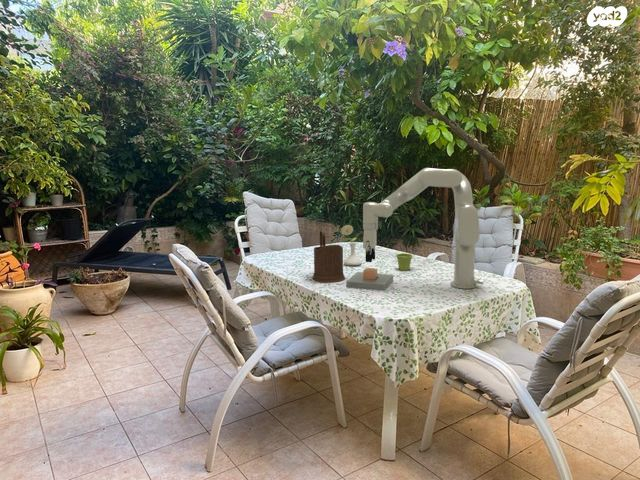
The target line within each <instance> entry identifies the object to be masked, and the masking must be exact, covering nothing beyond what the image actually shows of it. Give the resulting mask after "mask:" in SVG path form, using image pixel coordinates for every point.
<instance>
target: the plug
mask: <svg viewBox="0 0 640 480" xmlns="http://www.w3.org/2000/svg"><path fill="white" fill-rule="evenodd" d="M362 272H363V279H369V280H375V279H376V278H377V274H378V268H373V267H372V268H371V267H366V268H364V269H363V270H362Z"/></svg>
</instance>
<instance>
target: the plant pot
mask: <svg viewBox="0 0 640 480" xmlns="http://www.w3.org/2000/svg"><path fill="white" fill-rule="evenodd" d="M412 257H413V254H411V253H397V254H396V259H397V264H398V270H399V271H403V272H404V271H409V270H410V268H411V267H410V266H411V262H412Z"/></svg>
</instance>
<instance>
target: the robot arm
mask: <svg viewBox="0 0 640 480" xmlns="http://www.w3.org/2000/svg"><path fill="white" fill-rule="evenodd" d="M428 187H437V188H451V189H452V192H453V198H454V215H455V218H456V219H457V228H456V229H455V232H454V245H455V246H454V271H453V273H454V274H453V280H452V281H450V286H451V287H454V288H456V289H465V290H467V289H469V290H471V289H475V288H477V284H478V285H483V284H484V280H483V279H480V278H479V279H477V278H475V277H476V276H475V258H476V257H475V256H476V245H477V243H478V242H479V240H480V220H479V219H480V218H479V212H478V209H477V208H476V206H474V200H473V199H474V198H473V192H472V187H471V183H470V181H469V180H468V178H467V176H466V175H465V174H463V173H462V172H460V170H458V169H455V168H447V169H445V168H434V167H433V168H432V167H424V168H422V169H421V170H420V171H418V172H417V173H416V174H414V175H413V176H412V177H411V178H410V179H408V180H407V181H406V182H404V183H403V184H402V185H401V186H399V187H398V188H397V189H396V190H394V191H393V192H392V193H390V195H388V196H387V197H386V198H384V199H383V200H382V201H381V202H379V203H378V202H375V201H367V202H364V203H363V205H362V213H363V214H362V215H363V216H362V217H363V218H362V223H363V224H362V229H363V230H364V231H363V238H362V239H363V240H362V248H363V249H364V250H365V262H366V263H372V262H373V260H376V246H377V241H378V240H377V239H378V238H377V230H379V217H380V218H388V217H391V216H392V215H393V213H394V211H395V210H396V209H397V208H399V206H401V205H403V204H404V203H406V202H409V201H411V200H413V199H414V198H415V197H416V196H418V195H420V193H422V192H423V191H425V189H427V188H428Z"/></svg>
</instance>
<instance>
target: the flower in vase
mask: <svg viewBox="0 0 640 480" xmlns="http://www.w3.org/2000/svg"><path fill="white" fill-rule="evenodd" d="M340 232H341V235H344V236H348V237H344V238H342V241H344V242H347V241H350V242H348V244H349V246H350V255H349V256H347V257H346V258H345V259H343V265H346V266H354V267H355V266H360V265H361V264H362V263H363V260H361V258H360V257H358V256H357V255H356V252H355V251H356V250H355V249H356V245H357V243H358V242H355V241H356V240H357V236H356V237H353V238H351V239H350V236H349V235H351V234H352V233H353V232H354V227H353V226H352V225H350V224H347V225H344V226H343V227H342V228H341V230H340Z"/></svg>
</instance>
